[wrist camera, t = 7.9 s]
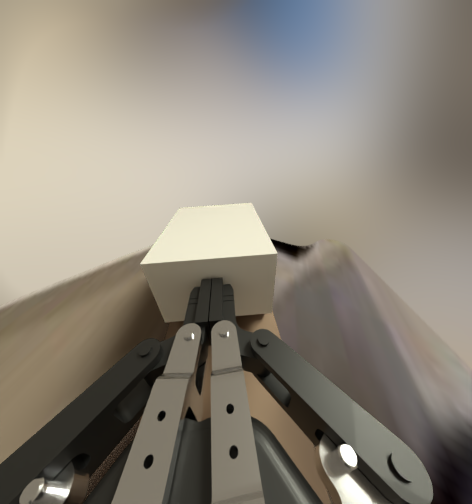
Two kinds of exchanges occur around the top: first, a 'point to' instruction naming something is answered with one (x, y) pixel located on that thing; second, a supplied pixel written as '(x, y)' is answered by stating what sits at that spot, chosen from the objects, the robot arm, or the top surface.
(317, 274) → the top surface
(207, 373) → the walnut track
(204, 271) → the cream white block
